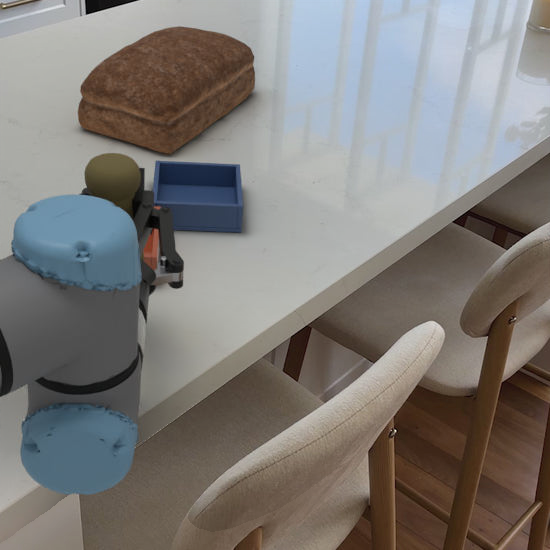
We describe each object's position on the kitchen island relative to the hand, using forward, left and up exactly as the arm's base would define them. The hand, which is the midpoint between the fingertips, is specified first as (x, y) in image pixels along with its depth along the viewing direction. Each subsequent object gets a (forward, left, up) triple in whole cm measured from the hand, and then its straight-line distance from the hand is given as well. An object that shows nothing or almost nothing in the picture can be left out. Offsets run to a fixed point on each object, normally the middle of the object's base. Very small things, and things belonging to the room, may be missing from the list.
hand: (121, 179), depth 89 cm
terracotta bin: (-2, +8, -15) cm, 17 cm away
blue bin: (+8, +20, -15) cm, 27 cm away
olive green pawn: (0, -5, -6) cm, 8 cm away
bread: (+4, +50, -15) cm, 53 cm away
